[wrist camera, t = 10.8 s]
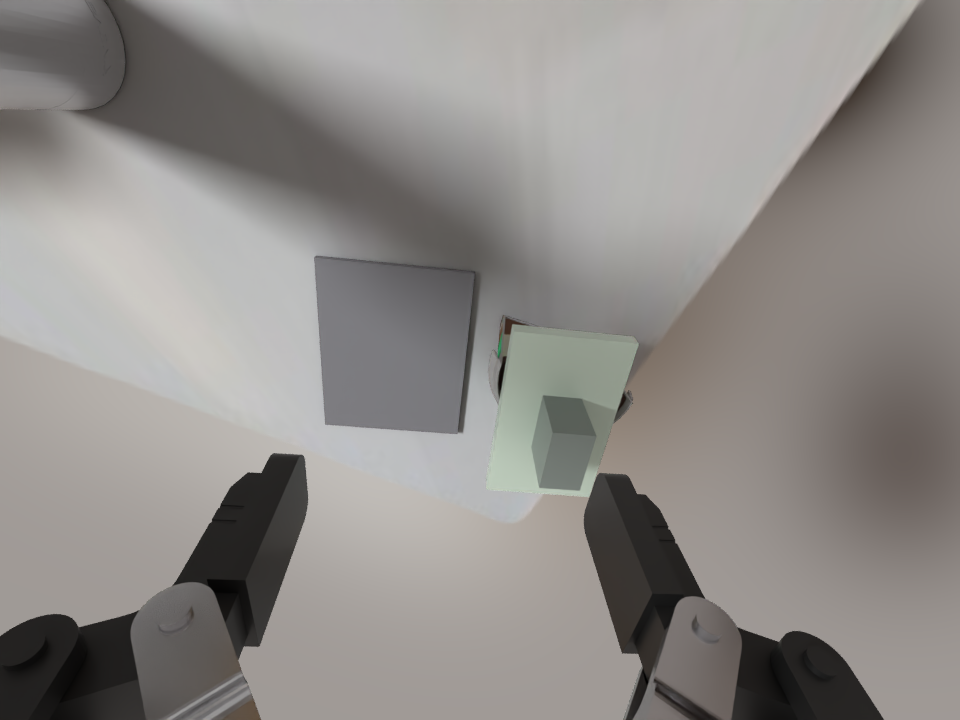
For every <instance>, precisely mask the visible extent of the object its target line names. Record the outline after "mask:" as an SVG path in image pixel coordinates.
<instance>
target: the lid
mask: <svg viewBox="0 0 960 720" xmlns="http://www.w3.org/2000/svg"><path fill="white" fill-rule="evenodd" d="M638 345H639V343H638V342H637V340H636V339H635V338H634V336H624V335H614V334H604V333H594V332H584V331H574V330H564V329H554V328H544V327H534V326H525V325H515V324H512V329H511V335H510V341H509V347H508V353H507V358H506V364H505V370H504V376H503V382H502V388H501V394H500V400H499V406H498V411H497V417H496V423H495V429H494V435H493V441H492V447H491V453H490V458H489V464H488V470H487V476H486V490H497V491H511V492H526V493H540V494H554V495H569V496H583V497H589V496H590V493H591V490H592V487H593V483H594V480H595V477H596V474H597V471H598V468H599V465H600V462H601V459H602V456H603V453H604V449H605V447H606V443H607V440H608V437H609V434H610V431H611V428H612V425H613V422H614V419H615V416H616V413H617V410H618V407H619V404H620V401H621V398H622V394H623V391H624V388H625V385H626V382H627V379H628V376H629V373H630V370H631V367H632V364H633V361H634V358H635V355H636V352H637V348H638Z"/></svg>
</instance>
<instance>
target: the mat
mask: <svg viewBox="0 0 960 720" xmlns="http://www.w3.org/2000/svg"><path fill="white" fill-rule="evenodd" d="M314 261H315V276H316V291H317V306H318V321H319V336H320V351H321V366H322V381H323V396H324V411H325V425H339V426H353V427H366V428H380V429H394V430H407V431H421V432H435V433H449V434H457V433H458V424H459V415H460V405H461V396H462V387H463V378H464V369H465V360H466V351H467V341H468V332H469V323H470V314H471V305H472V296H473V286H474V277H475V272H473V271H463V270H453V269H443V268H433V267H423V266H413V265H403V264H393V263H383V262H373V261H363V260H353V259H343V258H333V257H323V256H316V257H315V258H314Z"/></svg>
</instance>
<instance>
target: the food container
mask: <svg viewBox="0 0 960 720" xmlns="http://www.w3.org/2000/svg"><path fill="white" fill-rule="evenodd" d="M512 324H515V325H525V326H534V327H539V326H536V325H533V324H530V323H527V322H524V321H521V320H517V319H514V318H511V317H508V316H505V315H503V318H502V321H501V324H500V333H499V345H498V356H497V354H496V352H495V350H492V353H491V357H490V361H489V369H488V373H489V383H490V387H491V391H492V393H493V395H494V397H495V399H496V401H497V403H498V406H499V400H500V394H501V388H502V382H503V376H504V370H505V364H506V358H507V353H508V347H509V341H510V335H511V329H512ZM632 400H633V397H632V394H631V391H628V392H627V393H626V392H625V390H624V391H623V394H622V398H621V401H620V404H619V407H618V410H617V413H616V416H615V419H614V422H613V424H614V423H615V422H616V421H617V420H618V419H620V418H621V417H622V416H623V415H624V414H625V412H627V410H628V409H629V408H630V406H631V405H632V404H633V403H632Z"/></svg>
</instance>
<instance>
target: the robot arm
mask: <svg viewBox="0 0 960 720" xmlns="http://www.w3.org/2000/svg"><path fill="white" fill-rule="evenodd" d="M125 61H126V59H125V51H124V44H123V40H122V37H121V34H120V31H119V27H118V25H117V23H116V21H115V19H114V17H113V15H112V13H111V11H110V9H109V7H108V6H107V4H106V3H105V2H104V0H0V109H35V110H85V109H94V108H97V107H99V106H102V105H104V104H106V103H107V102H108V101H109V100H111V99H112V98H113V97H114V96H115V95H116V93H117V92H118V90H119V88H120V87H121V84H122V81H123V78H124V75H125ZM307 505H308V491H307V479H306V468H305V459H304V456H303V455H294V454H277V453H274V454H272V455H271V456H270V458H269V460H268V461H267V463H266V465H265V467H264V469H263V471H262V473H247V474H246V475H244V476H243V477H242V478H241V479H240V480H239V481H237V482H236V483H235V484H234V485H233V486H231V488H230V489H229V491H228V493H227V494H226V496H225V498H224V500H223V501H222V503H221V506H220V508H218V510H217V512H216V513H215V515H214V517H213V519H212V522H211V523H210V524H209V525H208V527H207V529H206V531H205V533H204V534H203V536H202V537H201V539H200V541H199V543H198V545H197V546H196V548H195V550H194V551H193V553H192V555H191V557H190V558H189V560H188V562H187V563H186V565H185V567H184V569H183V570H182V572H181V574H180V575H179V577H178V579H177V581H176V582H175V583H174V584H173V586H171V587H169V588H167V589H165V590H163V591H161V592H159V593H158V594H156V595H155V596H154V597H152V598H151V599H150V600H149V601H147V603H146V604H145V605H144V606H143V607H142V608H141V609H140V610H139V611H137V612H134V613H131V614H128V615H125V616H121V617H118V618H114V619H110V620H106V621H102V622H98V623H94V624H90V625H87V626H83V627H78V626H77V624H76V622H75V621H74V620H73V619H72V618H70V617H68V616H66V615H61V614H51V615H44V616H40V617H36V618H34V619H30V620H28V621H26V622H23V623H21V624H19V625H17V626H16V627H14V628H12V629H10V630H9V631H7V632H6V633H4V634H3V635H1V636H0V720H261V718H260V715H259V713H258V710H257V707H256V704H255V702H254V699H253V696H252V693H251V690H250V688H249V685H248V683H247V681H246V680H245V678H244V675H243V673H242V670H241V667H240V664H239V661H238V660H239V657H240V654H241V652H242V649H243V647H244V646H256V647H258V646H260V643H261V641H262V638H263V635H264V632H265V629H266V626H267V624H268V621H269V618H270V615H271V612H272V610H273V607H274V604H275V601H276V598H277V596H278V593H279V590H280V587H281V584H282V581H283V579H284V576H285V573H286V570H287V568H288V565H289V562H290V559H291V556H292V554H293V551H294V548H295V545H296V542H297V540H298V537H299V534H300V531H301V528H302V525H303V523H304V520H305V516H306V511H307ZM584 529H585V534H586V537H587V540H588V543H589V547H590V550H591V554H592V557H593V560H594V563H595V566H596V570H597V573H598V576H599V580H600V582H601V586H602V589H603V592H604V596H605V599H606V602H607V605H608V609H609V612H610V615H611V619H612V622H613V625H614V628H615V632H616V635H617V638H618V642H619V645H620V648H621V651H622V653H631V654H634V653H635V654H639V657H640V660H641V663H642V667H641V669H640V671H639V674H638V677H637V680H636V683H635V686H634V689H633V692H632V695H631V698H630V700H629V704H628V706H627V710H626V712H625V716H624V718H623V720H884V719H883V718H882V716H881V714H880V713H879V711H878V710H877V708H876V707H875V706H874V704H873V702H872V701H871V699H870V697H869V696H868V694H867V693H866V691H865V690H864V688H863V687H862V685H861V684H860V682H859V681H858V679H857V678H856V676H855V675H854V673H853V671H852V670H851V668H850V667H849V666H848V664H847V663H846V661H845V660H844V659H843V658H842V657H841V656H840V655H839V654H838V653H837V652H836V651H835V650H834V649H833V648H832V647H830V646H829V645H828V644H827V643H825V642H824V641H822V640H820V639H819V638H817V637H815V636H813V635H811V634H808V633H805V632H800V631H792V632H789V633H787V634H785V636H784V637H783V638H782V639H781V640H780V642H777V641H774V640H772V639H769V638H765V637H763V636H760V635H757V634H754V633H751V632H748V631H745V630H743V629H740V628H738V627H737V626H736V624H735V623H734V622H733V620H732V619H731V618H730V616H729V615H728V614H727V613H726V612H725V611H724V610H722V609H721V608H720V607H719V606H717V605H716V604H714V603H713V602H710V601H709V600H706V599H705V597H704V596H703V594H702V592H701V590H700V588H699V586H698V584H697V582H696V580H695V578H694V576H693V574H692V572H691V571H690V568H689V566H688V564H687V562H686V561H685V559H684V556H683V554H682V552H681V551H680V549H679V547H678V545H677V544H676V543H675V539H674V537H673V535H672V533H671V531H670V530H668V525H667V523H666V521H665V519H664V517H663V515H662V513H661V511H660V509H659V508H658V507H657V506H656V505H655V504H654V503H653V502H652V501H651V500H650V499H649V498H648V497H647V496H646V495H641V494H637V493H636V491H635V489H634V487H633V485H632V482H631V481H630V478H629V477H628V476H627V475H623V474H606V473H599V474H598V475H597V477H596V480H595V483H594V486H593V489H592V492H591V495H590V498H589V500H588V503H587V507H586V509H585V514H584Z"/></svg>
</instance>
